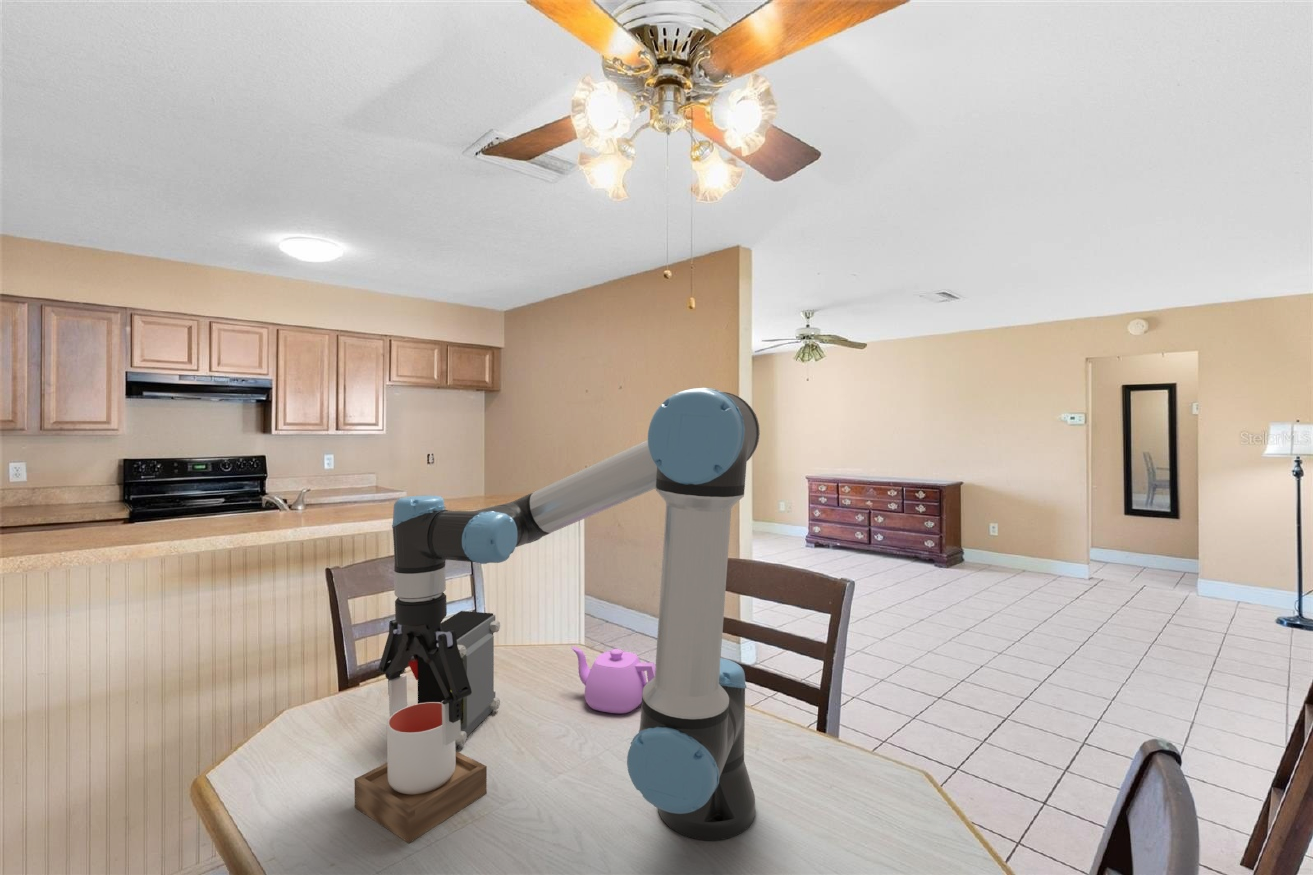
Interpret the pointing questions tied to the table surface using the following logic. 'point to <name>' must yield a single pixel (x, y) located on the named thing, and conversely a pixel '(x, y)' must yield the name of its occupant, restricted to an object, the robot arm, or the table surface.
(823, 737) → the table surface
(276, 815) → the table surface
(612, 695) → the teapot
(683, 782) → the robot arm
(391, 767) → the cup
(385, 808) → the wooden tray
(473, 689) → the electrical component
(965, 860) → the table surface
